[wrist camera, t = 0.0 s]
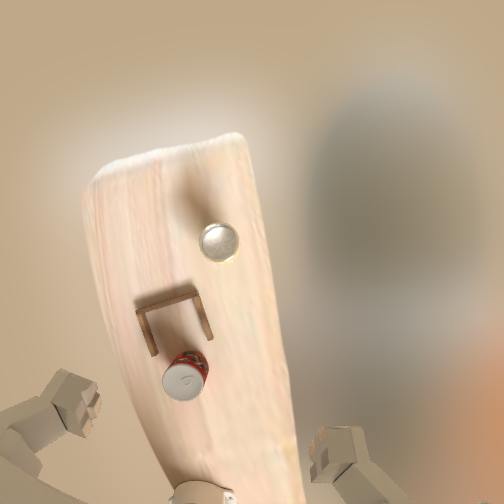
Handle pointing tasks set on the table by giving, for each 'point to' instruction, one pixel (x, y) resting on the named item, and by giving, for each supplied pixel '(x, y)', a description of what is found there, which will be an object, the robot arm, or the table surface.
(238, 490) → the table surface
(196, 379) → the canned food
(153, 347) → the open wooden square
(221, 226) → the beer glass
